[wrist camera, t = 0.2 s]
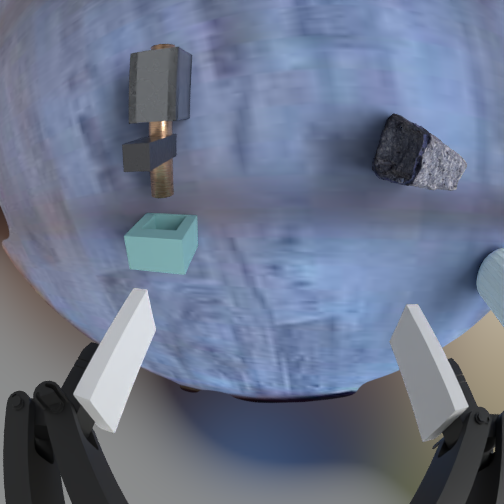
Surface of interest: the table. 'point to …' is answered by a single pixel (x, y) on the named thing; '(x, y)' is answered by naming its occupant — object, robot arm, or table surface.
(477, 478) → the robot arm
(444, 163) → the stone
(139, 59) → the sleeve
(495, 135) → the table surface
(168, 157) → the hammer
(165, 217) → the socket
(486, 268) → the vase
